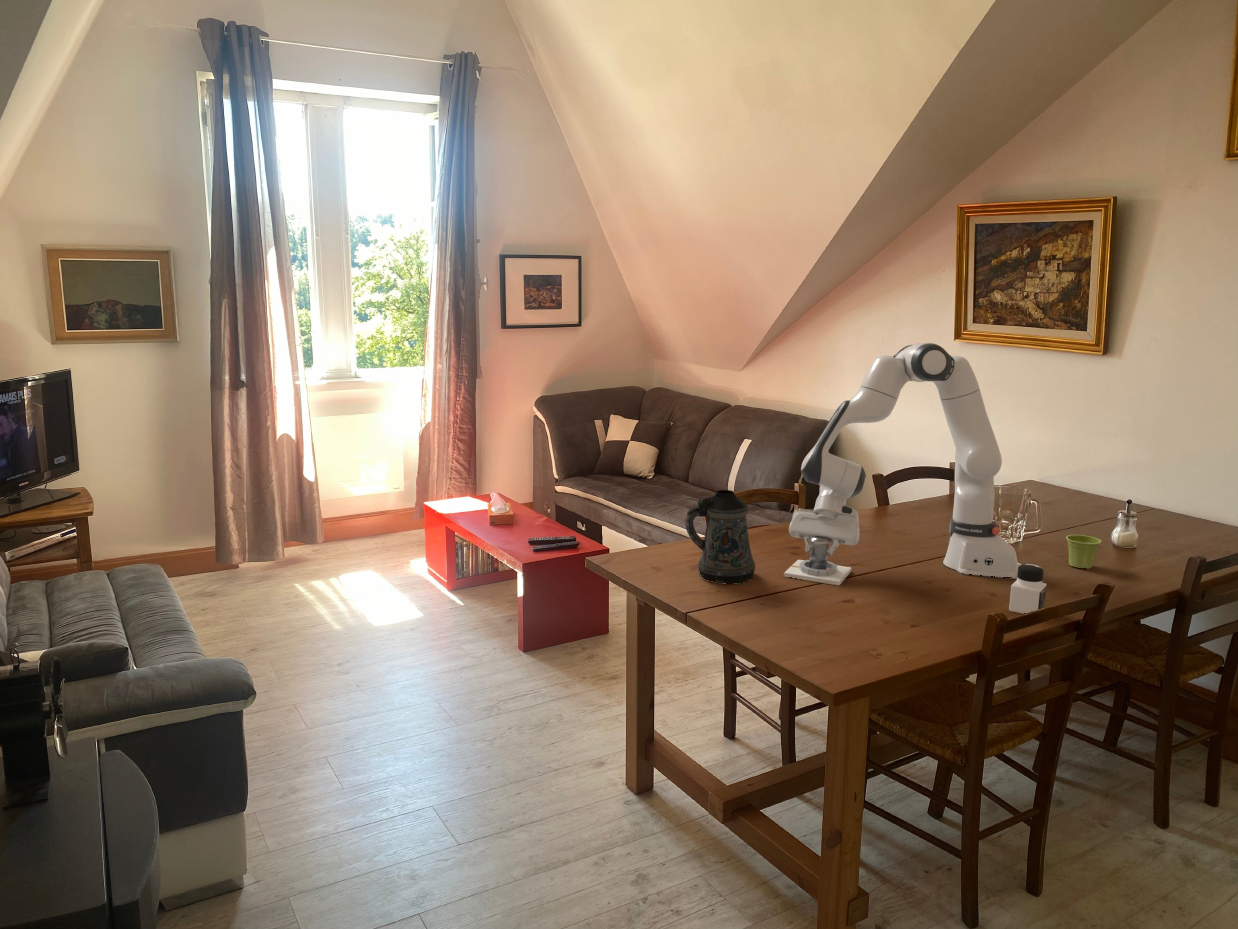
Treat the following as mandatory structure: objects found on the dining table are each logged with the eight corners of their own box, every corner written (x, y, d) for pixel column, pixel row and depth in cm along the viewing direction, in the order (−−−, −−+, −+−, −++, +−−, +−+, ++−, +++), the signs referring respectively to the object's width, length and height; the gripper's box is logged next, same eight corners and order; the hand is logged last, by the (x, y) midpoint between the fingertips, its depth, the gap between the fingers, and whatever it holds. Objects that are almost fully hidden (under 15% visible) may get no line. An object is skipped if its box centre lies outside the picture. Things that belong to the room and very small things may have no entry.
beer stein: (766, 578, 259) (770, 494, 254) (712, 590, 249) (714, 502, 244) (731, 563, 273) (733, 482, 268) (678, 573, 263) (679, 490, 258)
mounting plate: (851, 571, 266) (851, 562, 265) (839, 585, 254) (839, 576, 253) (797, 563, 273) (798, 554, 272) (784, 576, 261) (784, 567, 260)
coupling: (829, 566, 264) (830, 537, 262) (824, 571, 260) (826, 541, 258) (811, 564, 266) (813, 534, 264) (807, 569, 262) (808, 539, 260)
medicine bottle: (1037, 617, 231) (1042, 572, 228) (1008, 611, 235) (1012, 567, 232) (1044, 609, 236) (1049, 565, 234) (1015, 603, 241) (1019, 560, 238)
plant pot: (1069, 559, 278) (1072, 532, 276) (1102, 566, 271) (1106, 539, 269) (1058, 566, 271) (1061, 538, 269) (1091, 573, 265) (1094, 545, 263)
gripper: (792, 502, 270) (781, 542, 264) (861, 510, 261) (851, 552, 255) (796, 513, 275) (785, 552, 268) (864, 522, 266) (854, 562, 259)
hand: (818, 552), depth 261 cm, fingers closed on coupling, 5 cm apart
